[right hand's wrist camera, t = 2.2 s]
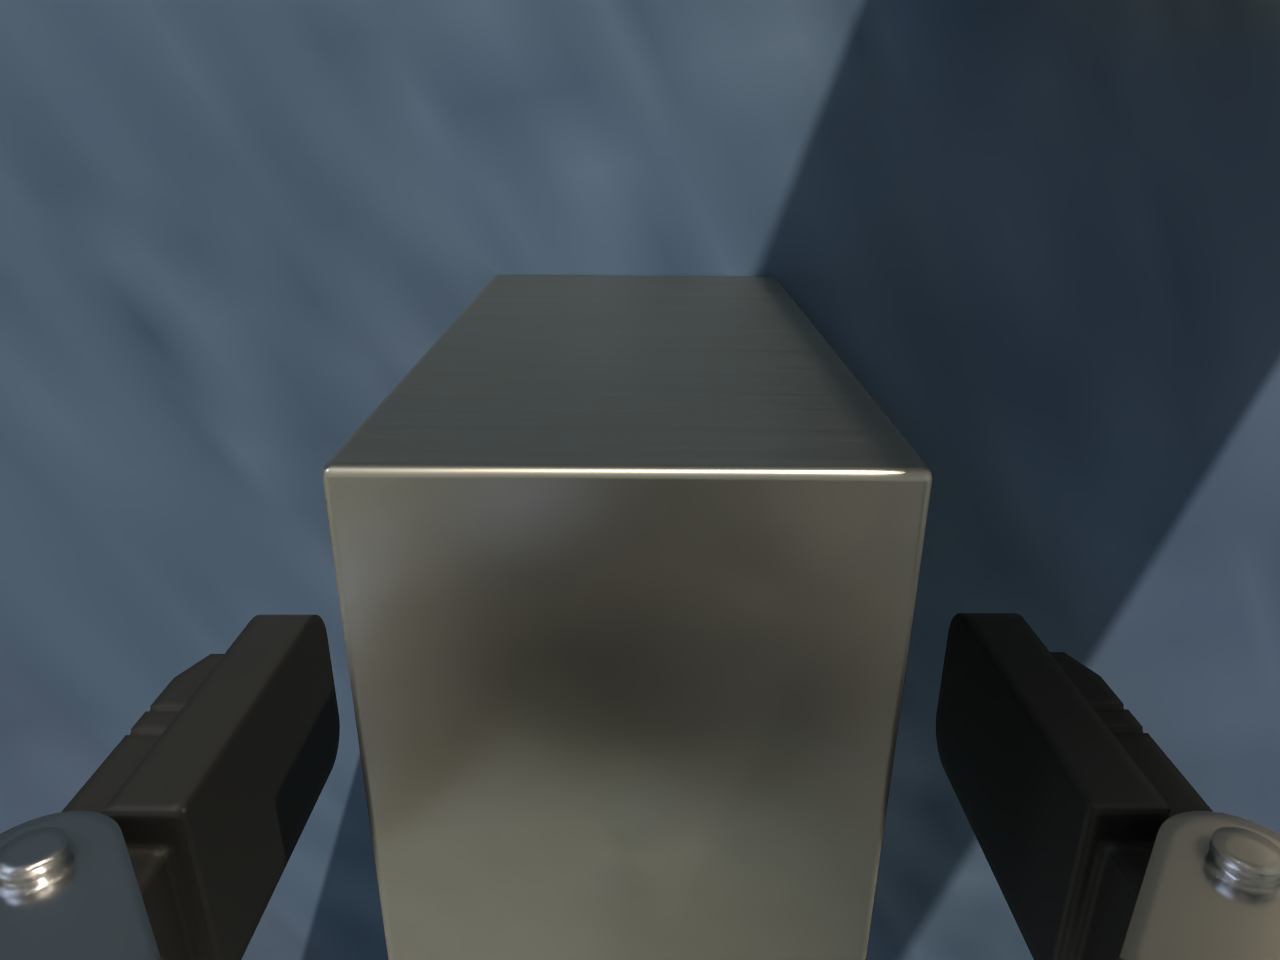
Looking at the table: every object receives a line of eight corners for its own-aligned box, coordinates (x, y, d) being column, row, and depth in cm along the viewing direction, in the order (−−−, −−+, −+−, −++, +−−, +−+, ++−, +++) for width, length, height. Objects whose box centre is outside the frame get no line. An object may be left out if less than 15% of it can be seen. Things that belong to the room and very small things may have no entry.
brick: (514, 663, 18) (407, 1127, 10) (494, 274, 15) (316, 466, 7) (752, 664, 18) (844, 1129, 10) (776, 275, 15) (937, 470, 7)
